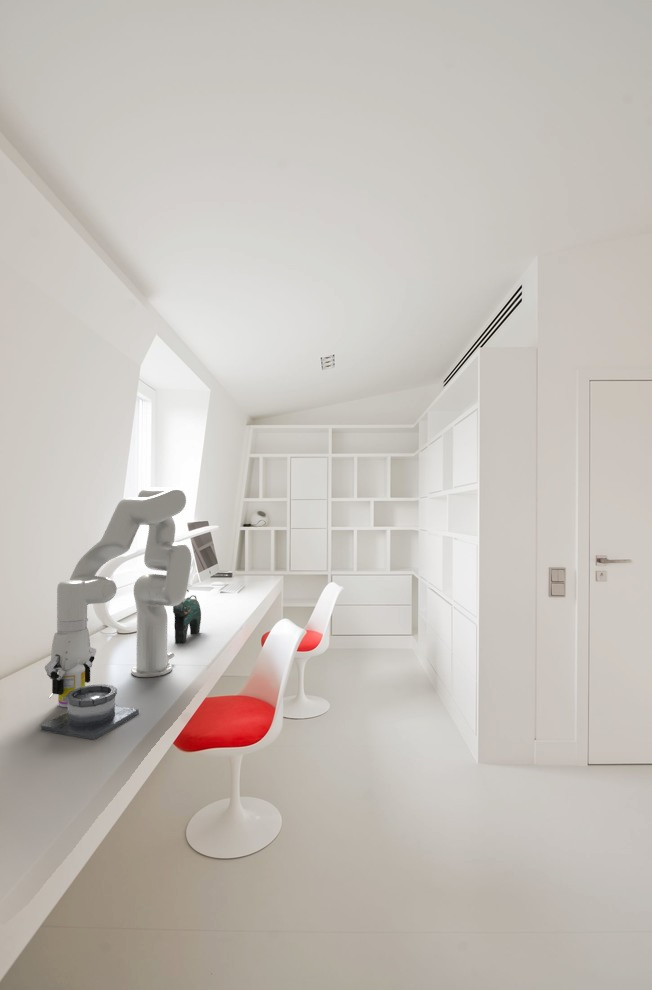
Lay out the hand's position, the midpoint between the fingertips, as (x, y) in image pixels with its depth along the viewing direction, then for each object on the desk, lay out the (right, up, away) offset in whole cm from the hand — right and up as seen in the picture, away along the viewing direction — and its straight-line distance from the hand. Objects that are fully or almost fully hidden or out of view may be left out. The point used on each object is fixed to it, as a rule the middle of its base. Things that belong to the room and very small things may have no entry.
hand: (71, 687), depth 146 cm
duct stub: (+11, -4, -12) cm, 17 cm away
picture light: (-8, -5, +10) cm, 14 cm away
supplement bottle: (0, -5, 0) cm, 5 cm away
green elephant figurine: (+14, -5, +69) cm, 71 cm away
